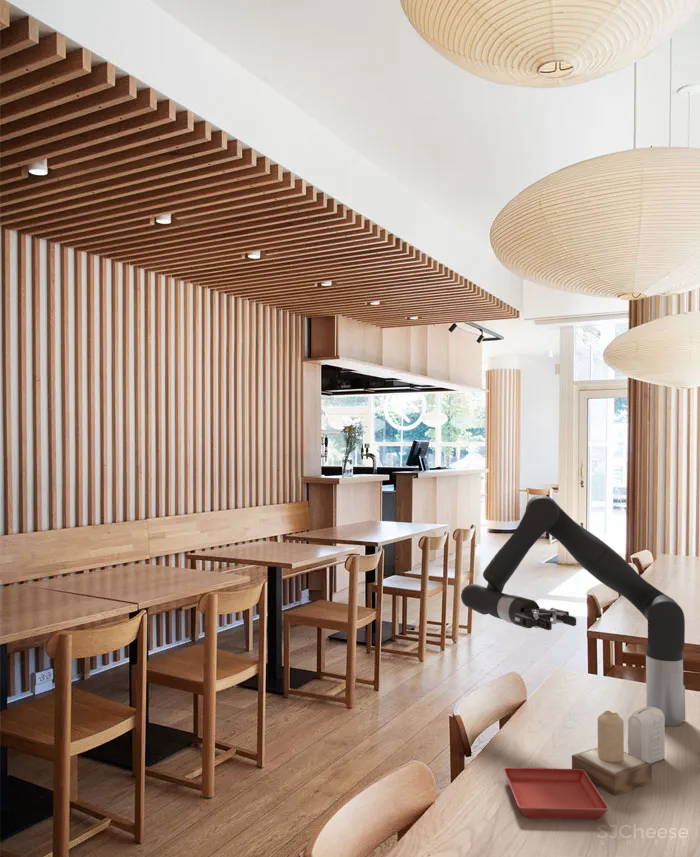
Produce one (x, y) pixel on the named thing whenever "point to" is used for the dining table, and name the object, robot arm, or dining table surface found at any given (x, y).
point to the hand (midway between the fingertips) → (563, 623)
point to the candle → (610, 737)
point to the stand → (613, 771)
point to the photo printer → (647, 734)
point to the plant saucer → (555, 793)
